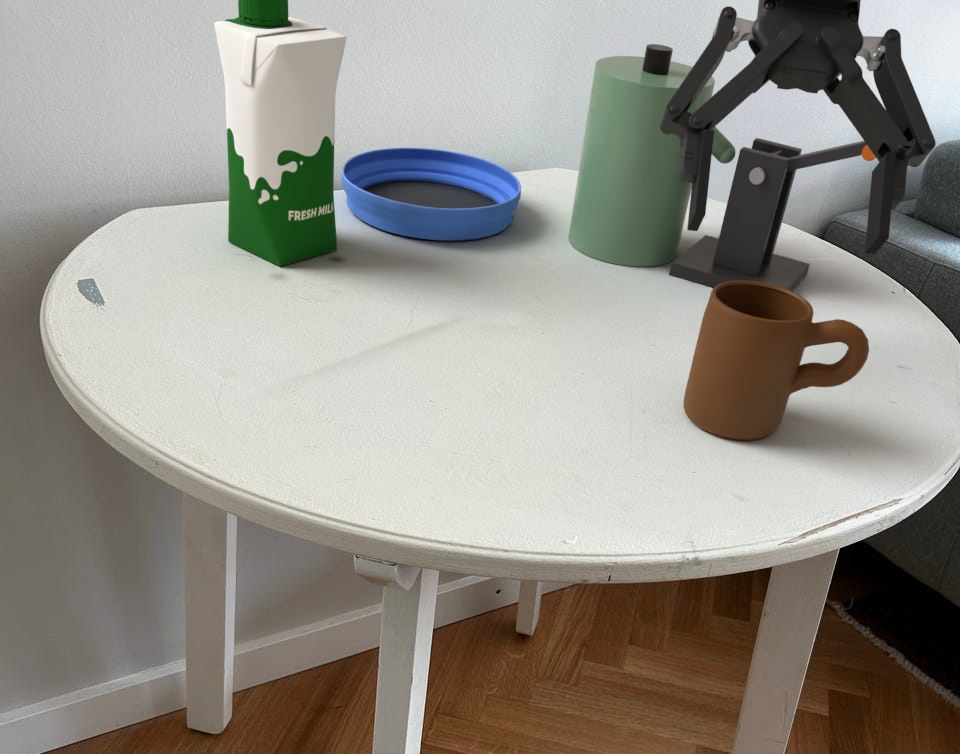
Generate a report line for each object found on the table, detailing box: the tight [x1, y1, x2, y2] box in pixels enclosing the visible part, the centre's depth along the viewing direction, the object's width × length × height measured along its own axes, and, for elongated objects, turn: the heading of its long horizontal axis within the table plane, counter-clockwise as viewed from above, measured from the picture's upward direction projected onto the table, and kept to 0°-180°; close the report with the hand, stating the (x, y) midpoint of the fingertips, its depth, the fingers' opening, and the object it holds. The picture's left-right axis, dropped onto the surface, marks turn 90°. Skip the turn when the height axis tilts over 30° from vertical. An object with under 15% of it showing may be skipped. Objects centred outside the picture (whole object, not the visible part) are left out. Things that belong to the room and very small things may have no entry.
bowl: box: [340, 147, 522, 242], centre depth 112 cm, size 18×18×4 cm
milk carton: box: [213, 0, 348, 267], centre depth 96 cm, size 9×9×20 cm
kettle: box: [568, 43, 737, 268], centre depth 105 cm, size 15×11×18 cm
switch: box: [771, 140, 877, 177], centre depth 100 cm, size 12×7×2 cm, turn 62°
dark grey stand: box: [668, 137, 811, 292], centre depth 105 cm, size 11×10×12 cm
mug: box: [683, 281, 870, 441], centre depth 82 cm, size 12×8×9 cm, turn 73°
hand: (786, 234), depth 83 cm, fingers open, 13 cm apart
